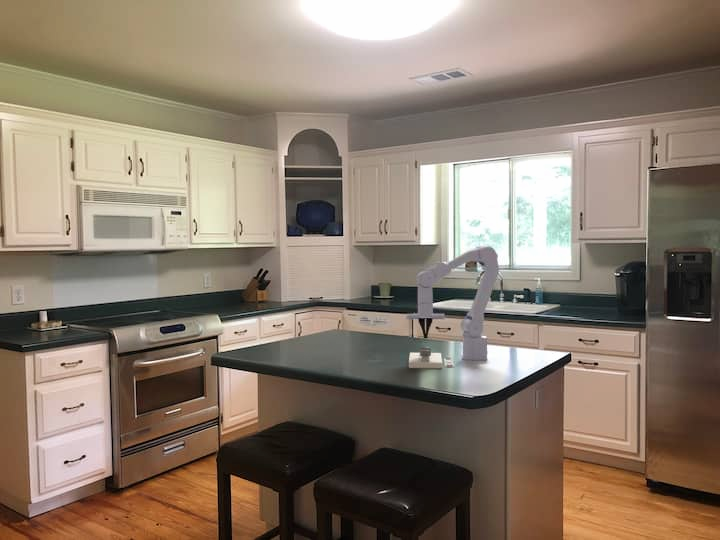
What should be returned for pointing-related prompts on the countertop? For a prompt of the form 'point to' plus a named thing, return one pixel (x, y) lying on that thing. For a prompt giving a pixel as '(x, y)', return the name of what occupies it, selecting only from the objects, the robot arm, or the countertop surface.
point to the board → (416, 362)
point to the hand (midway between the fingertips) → (425, 337)
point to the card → (448, 362)
